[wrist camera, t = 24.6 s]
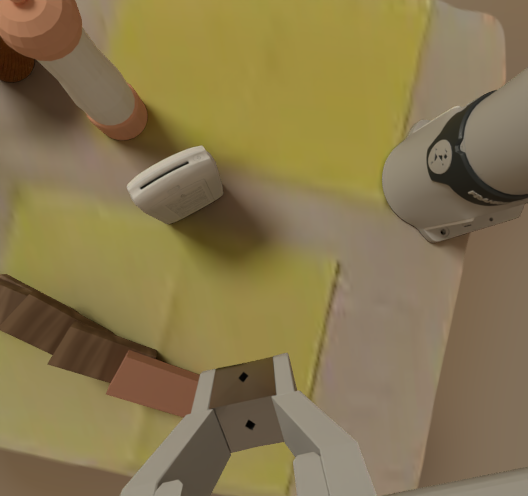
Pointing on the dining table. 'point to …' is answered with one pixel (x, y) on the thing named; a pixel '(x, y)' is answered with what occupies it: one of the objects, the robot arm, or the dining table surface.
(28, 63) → the disposable coffee cup
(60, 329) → the walnut domino
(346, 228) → the dining table surface
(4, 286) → the walnut domino
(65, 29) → the pepper shaker
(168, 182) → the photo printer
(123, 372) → the terracotta domino
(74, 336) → the walnut domino
